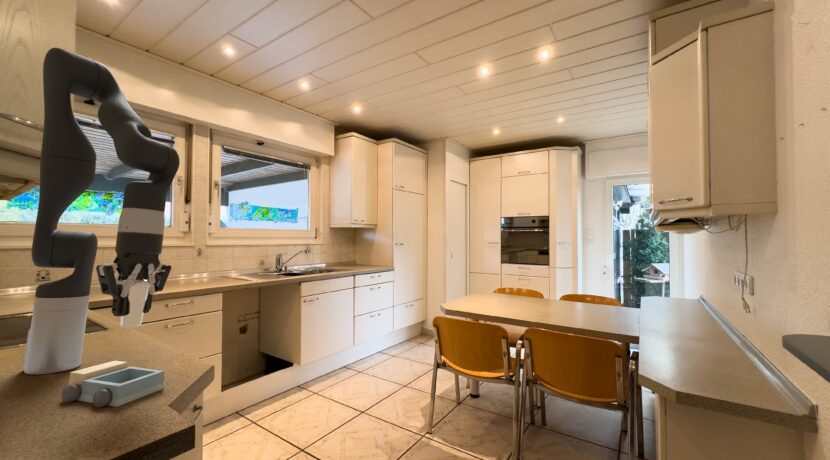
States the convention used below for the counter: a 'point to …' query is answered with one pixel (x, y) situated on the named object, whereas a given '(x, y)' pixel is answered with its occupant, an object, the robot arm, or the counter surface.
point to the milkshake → (135, 304)
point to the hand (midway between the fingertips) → (131, 313)
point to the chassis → (112, 384)
